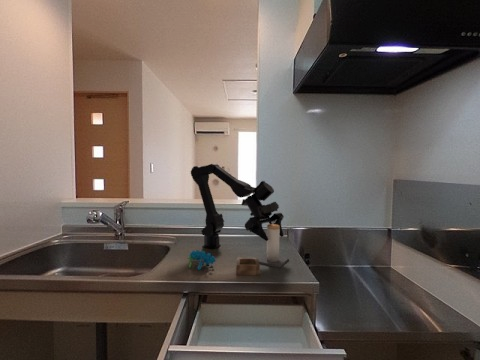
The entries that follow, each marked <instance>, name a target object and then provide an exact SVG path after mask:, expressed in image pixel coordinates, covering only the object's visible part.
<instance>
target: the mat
mask: <svg viewBox="0 0 480 360" xmlns="http://www.w3.org/2000/svg"><path fill="white" fill-rule="evenodd" d="M289 259H290V258H289V257H284V256H280V255H279V261H276V262H271V261H268V260H267V253H266V254H265V255H263V256H261V257H260V258H258V260H259V265H265V266H268V267H269V266H270V267H273V268H279V269H280V268H281V267H283V266H284V265H285V264H287V262H289Z"/></svg>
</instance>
